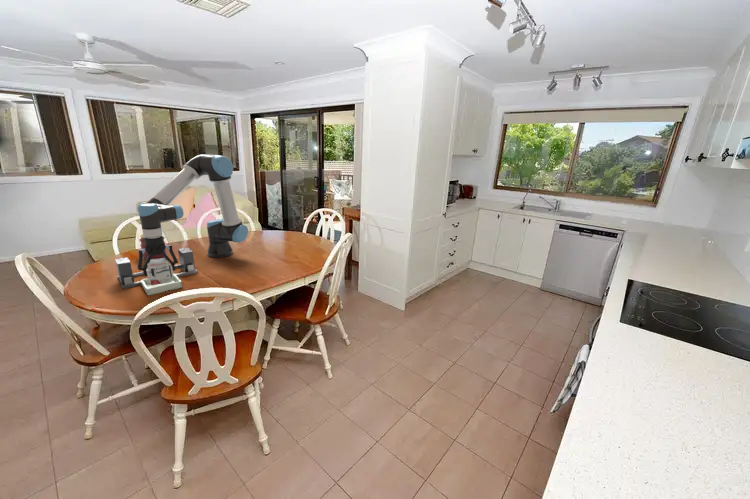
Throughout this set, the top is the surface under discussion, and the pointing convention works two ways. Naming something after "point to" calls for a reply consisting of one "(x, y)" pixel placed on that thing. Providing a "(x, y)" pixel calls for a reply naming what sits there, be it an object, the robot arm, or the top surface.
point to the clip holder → (128, 277)
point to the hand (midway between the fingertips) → (161, 279)
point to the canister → (147, 252)
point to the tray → (161, 286)
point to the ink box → (159, 271)
